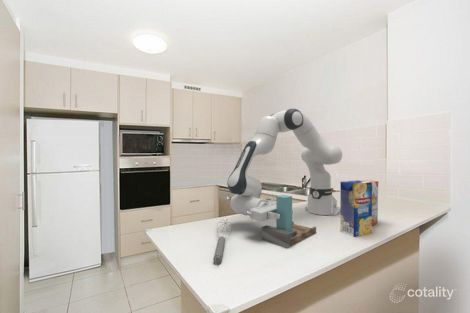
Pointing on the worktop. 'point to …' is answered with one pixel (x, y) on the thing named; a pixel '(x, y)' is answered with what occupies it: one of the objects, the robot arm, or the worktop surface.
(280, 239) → the track
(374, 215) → the cracker box
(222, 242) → the kitchen whisk
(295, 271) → the worktop surface
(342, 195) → the beverage box
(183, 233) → the worktop surface
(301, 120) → the robot arm
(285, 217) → the teal block on base
